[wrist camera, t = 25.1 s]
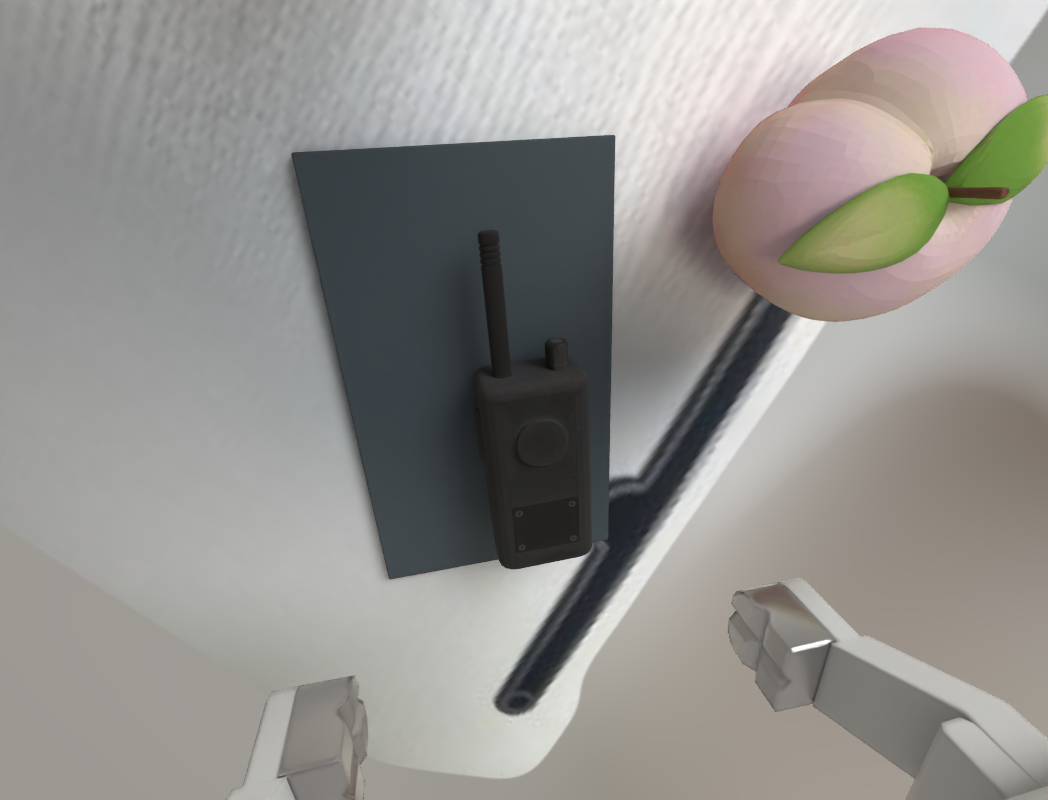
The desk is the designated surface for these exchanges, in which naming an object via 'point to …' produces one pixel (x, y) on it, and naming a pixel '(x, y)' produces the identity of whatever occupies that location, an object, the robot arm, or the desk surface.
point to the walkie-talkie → (532, 438)
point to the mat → (457, 314)
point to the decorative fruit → (880, 176)
